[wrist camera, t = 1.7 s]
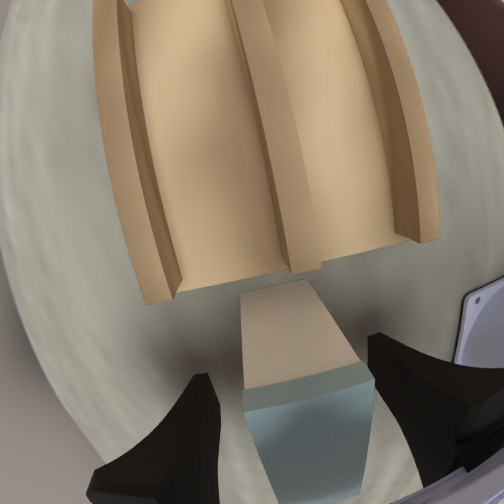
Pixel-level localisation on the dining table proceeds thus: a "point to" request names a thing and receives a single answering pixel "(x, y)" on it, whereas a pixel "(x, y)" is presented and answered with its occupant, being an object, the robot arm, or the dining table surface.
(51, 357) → the dining table surface
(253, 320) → the tall pale blue block
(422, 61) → the dining table surface
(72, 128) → the dining table surface
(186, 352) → the dining table surface
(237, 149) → the rack
